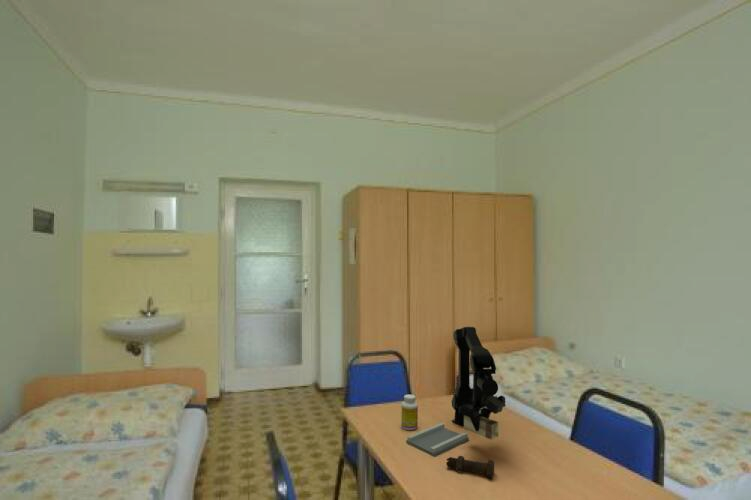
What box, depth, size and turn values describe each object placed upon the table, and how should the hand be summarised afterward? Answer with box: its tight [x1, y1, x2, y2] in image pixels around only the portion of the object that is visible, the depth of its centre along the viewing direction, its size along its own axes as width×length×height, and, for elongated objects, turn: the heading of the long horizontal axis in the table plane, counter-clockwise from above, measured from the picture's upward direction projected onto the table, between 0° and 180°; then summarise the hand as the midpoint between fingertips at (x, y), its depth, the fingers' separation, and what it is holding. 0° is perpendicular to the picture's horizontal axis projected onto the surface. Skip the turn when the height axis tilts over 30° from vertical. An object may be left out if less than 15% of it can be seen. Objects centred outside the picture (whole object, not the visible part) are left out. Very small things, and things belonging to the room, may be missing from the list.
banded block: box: [463, 415, 499, 440], centre depth 155 cm, size 4×12×5 cm, turn 42°
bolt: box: [446, 455, 495, 480], centre depth 141 cm, size 6×5×15 cm
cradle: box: [405, 422, 470, 457], centre depth 163 cm, size 20×14×2 cm
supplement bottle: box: [400, 394, 419, 431], centre depth 175 cm, size 7×7×13 cm
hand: (480, 429), depth 155 cm, fingers closed on banded block, 4 cm apart
